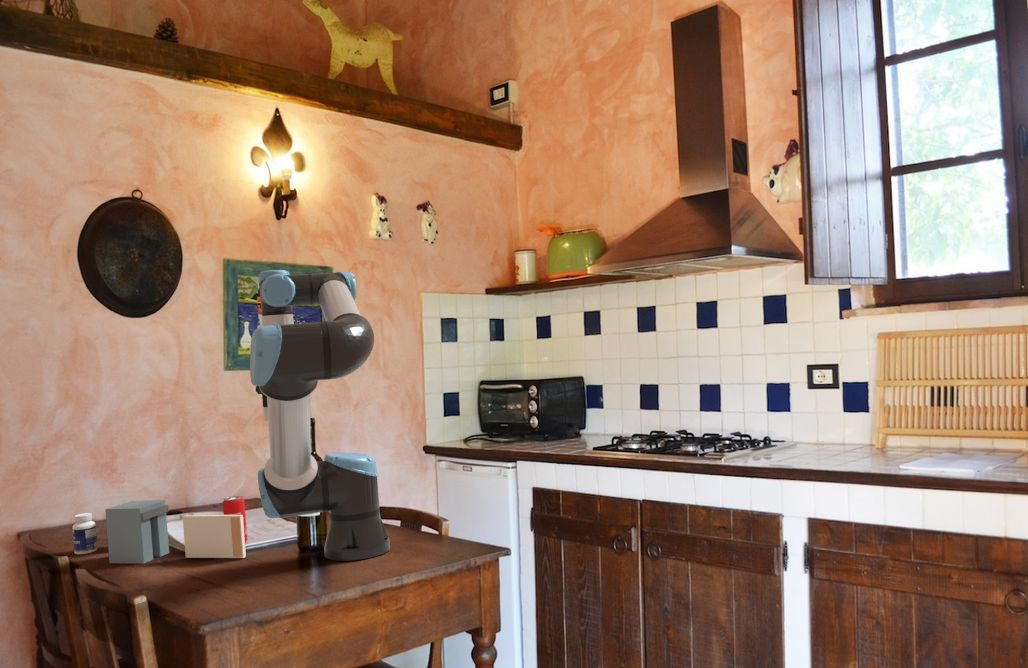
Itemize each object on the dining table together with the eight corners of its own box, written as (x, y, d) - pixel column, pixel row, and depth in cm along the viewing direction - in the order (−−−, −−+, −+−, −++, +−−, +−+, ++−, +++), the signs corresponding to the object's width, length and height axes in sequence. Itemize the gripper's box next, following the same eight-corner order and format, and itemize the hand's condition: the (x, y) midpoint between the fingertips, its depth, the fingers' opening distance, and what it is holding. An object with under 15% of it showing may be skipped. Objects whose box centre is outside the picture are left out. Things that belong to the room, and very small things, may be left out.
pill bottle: (69, 554, 213) (66, 516, 213) (88, 548, 218) (85, 511, 218) (83, 555, 211) (80, 517, 211) (102, 549, 216) (99, 512, 215)
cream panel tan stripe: (246, 556, 196) (242, 514, 196) (243, 557, 195) (240, 515, 195) (188, 556, 200) (185, 515, 200) (185, 557, 199) (182, 516, 199)
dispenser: (172, 552, 206) (167, 500, 206) (146, 563, 198) (142, 508, 198) (135, 552, 209) (131, 500, 209) (109, 563, 201) (105, 509, 200)
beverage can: (251, 541, 212) (247, 495, 212) (242, 547, 207) (238, 499, 207) (231, 542, 212) (228, 496, 212) (222, 548, 207) (218, 500, 207)
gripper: (291, 332, 219) (297, 411, 219) (236, 334, 195) (242, 424, 195) (317, 330, 217) (323, 410, 217) (263, 332, 193) (270, 423, 193)
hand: (285, 417), depth 206 cm, fingers open, 13 cm apart
